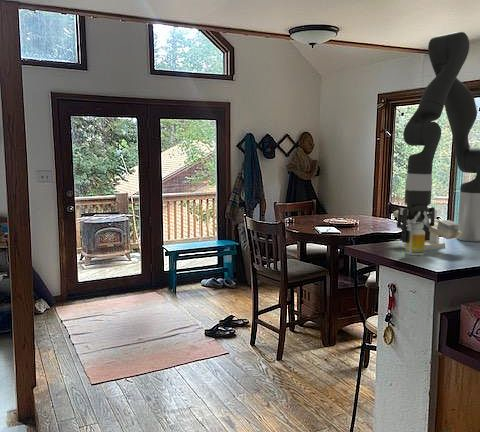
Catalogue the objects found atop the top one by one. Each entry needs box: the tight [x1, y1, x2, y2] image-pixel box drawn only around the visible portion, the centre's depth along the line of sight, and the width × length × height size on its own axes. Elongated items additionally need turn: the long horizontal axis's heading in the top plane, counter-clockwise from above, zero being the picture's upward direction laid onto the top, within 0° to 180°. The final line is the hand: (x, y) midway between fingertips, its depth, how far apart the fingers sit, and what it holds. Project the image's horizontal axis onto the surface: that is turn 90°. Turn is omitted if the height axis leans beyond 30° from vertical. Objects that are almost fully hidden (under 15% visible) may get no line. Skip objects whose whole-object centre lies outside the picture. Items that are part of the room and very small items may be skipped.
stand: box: [403, 219, 446, 251], centre depth 159 cm, size 13×6×9 cm, turn 121°
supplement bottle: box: [405, 222, 425, 256], centre depth 149 cm, size 5×5×10 cm
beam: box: [392, 209, 463, 240], centre depth 158 cm, size 7×22×4 cm, turn 31°
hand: (414, 241), depth 149 cm, fingers open, 8 cm apart
